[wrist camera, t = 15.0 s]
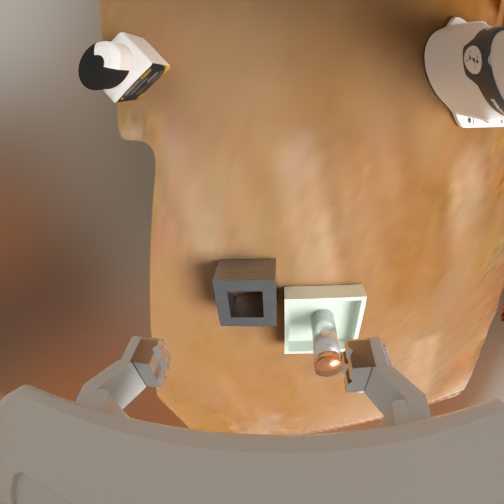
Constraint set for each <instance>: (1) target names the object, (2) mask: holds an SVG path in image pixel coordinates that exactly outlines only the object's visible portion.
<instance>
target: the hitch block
mask: <svg viewBox="0 0 504 504" xmlns="http://www.w3.org/2000/svg"><path fill="white" fill-rule="evenodd" d="M212 283H213V288H214V294H215V299H216V304H217V310H218V315H219V320H220V325H221V326H277V278H276V259H229V260H219V261H218V264H217V267H216V270H215V273H214V277H213V280H212ZM235 291H262V294H255V295H235Z"/></svg>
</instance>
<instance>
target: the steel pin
mask: <svg viewBox="0 0 504 504" xmlns="http://www.w3.org/2000/svg"><path fill="white" fill-rule="evenodd" d="M311 329H312V340H313V352H314V366H315V372H316V374H318V375H320V376H325V377H327V376H333V375H335V374H337V373H339V372H340V371H341V370H342V361H341V354H340V348H339V342H338V336H337V331H336V325H335V319H334V314H333V312H332V311H330V310H328V309H319V310H317V311H315V312H314V313H313V314H312V315H311Z"/></svg>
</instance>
